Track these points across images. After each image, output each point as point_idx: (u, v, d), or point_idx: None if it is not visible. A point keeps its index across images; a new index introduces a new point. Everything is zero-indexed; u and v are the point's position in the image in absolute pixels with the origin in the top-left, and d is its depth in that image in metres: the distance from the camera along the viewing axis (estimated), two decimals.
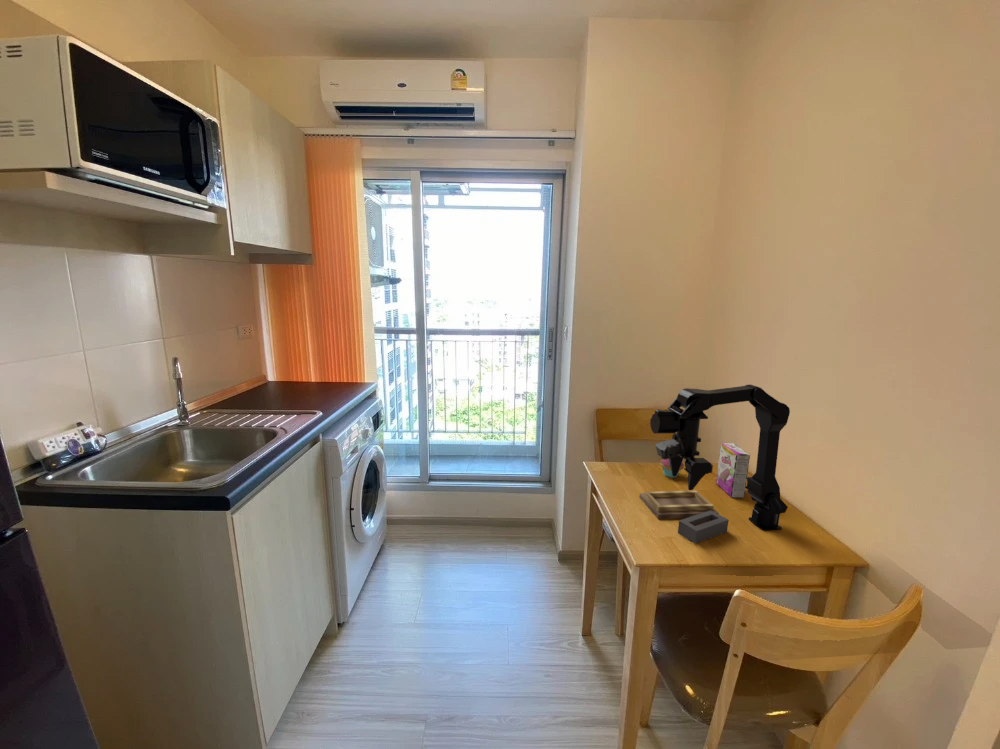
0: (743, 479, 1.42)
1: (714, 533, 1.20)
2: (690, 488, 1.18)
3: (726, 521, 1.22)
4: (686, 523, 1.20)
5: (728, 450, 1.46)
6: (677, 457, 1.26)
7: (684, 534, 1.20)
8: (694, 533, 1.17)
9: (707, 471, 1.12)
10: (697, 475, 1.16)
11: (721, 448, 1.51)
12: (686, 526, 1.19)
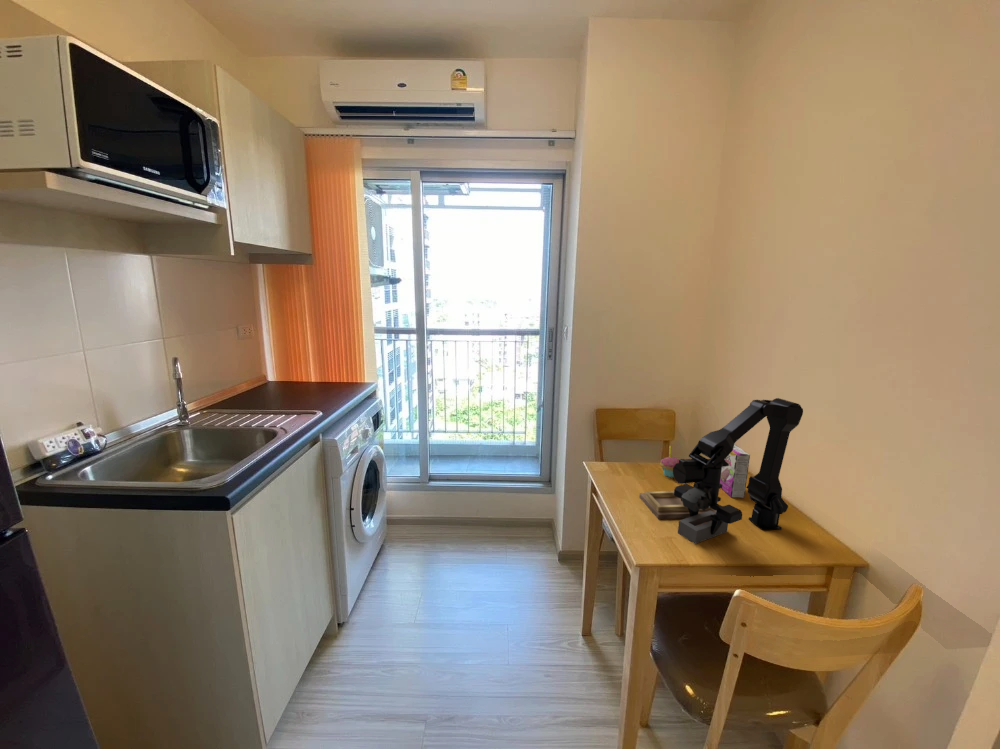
0: (743, 479, 1.42)
1: None
2: (713, 532, 1.20)
3: None
4: (686, 523, 1.20)
5: None
6: None
7: (684, 534, 1.20)
8: (694, 533, 1.17)
9: (739, 519, 1.13)
10: None
11: None
12: (686, 526, 1.19)
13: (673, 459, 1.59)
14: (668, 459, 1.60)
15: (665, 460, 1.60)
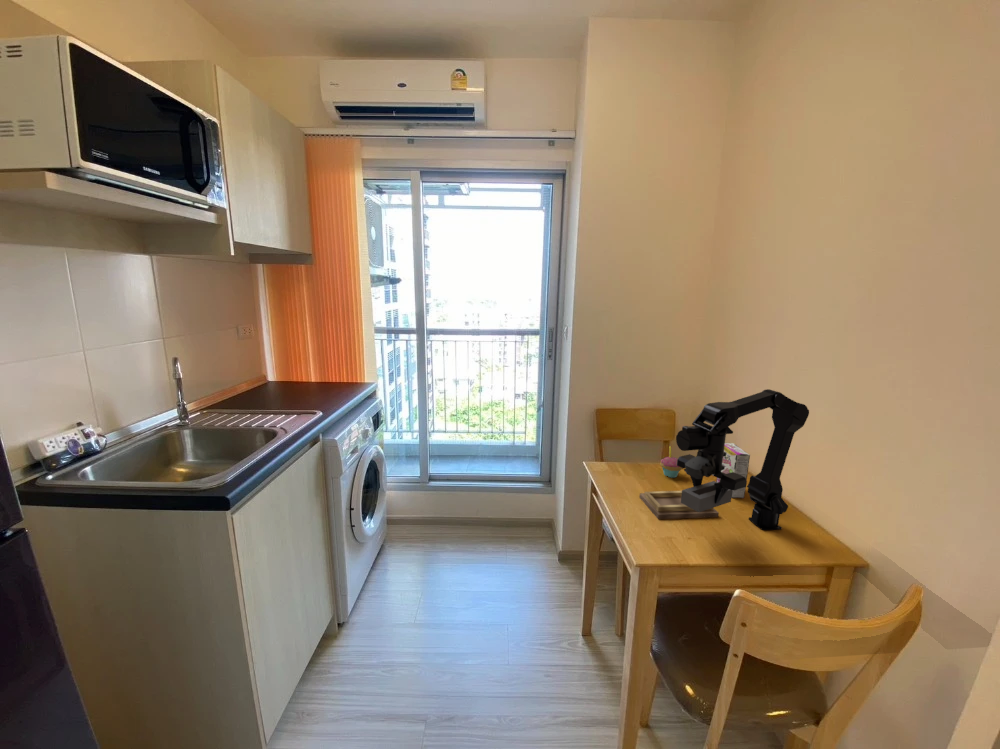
0: None
1: None
2: (717, 501, 1.18)
3: (730, 491, 1.20)
4: (689, 492, 1.18)
5: (728, 450, 1.46)
6: None
7: (687, 503, 1.18)
8: (698, 501, 1.15)
9: (743, 486, 1.12)
10: None
11: None
12: (689, 495, 1.17)
13: (673, 459, 1.59)
14: (668, 459, 1.60)
15: (665, 460, 1.60)
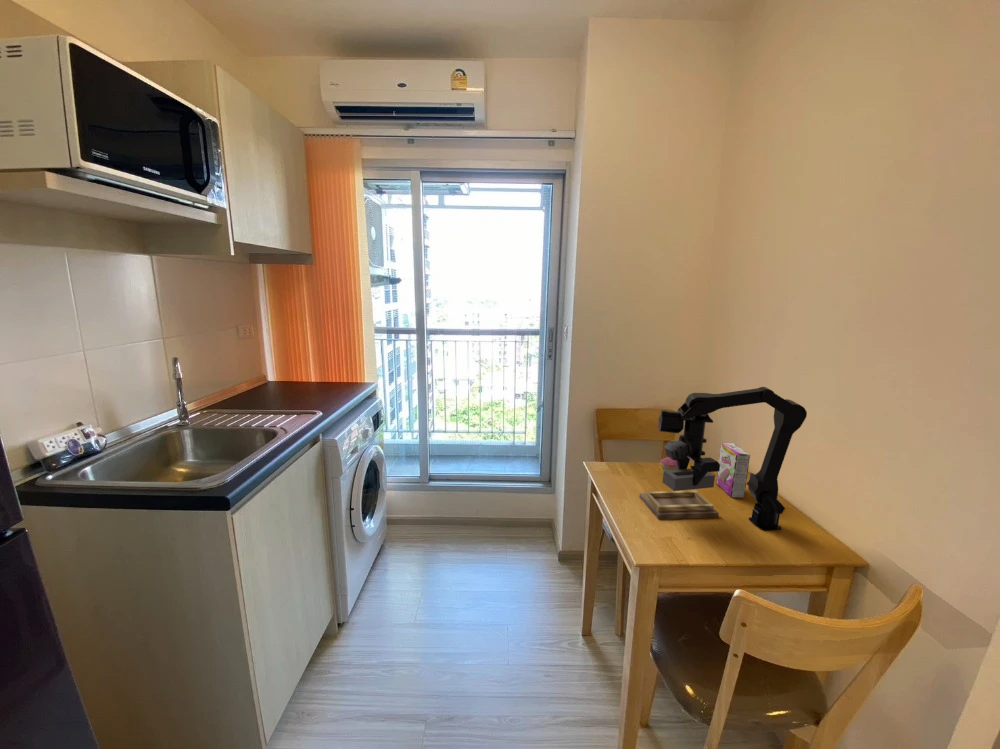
0: (743, 479, 1.42)
1: (697, 485, 1.28)
2: (695, 484, 1.27)
3: (712, 477, 1.28)
4: (669, 473, 1.29)
5: (728, 450, 1.46)
6: (684, 459, 1.33)
7: (667, 483, 1.30)
8: (673, 480, 1.26)
9: (715, 470, 1.20)
10: (701, 472, 1.25)
11: (721, 448, 1.51)
12: (668, 475, 1.29)
13: None
14: (668, 459, 1.60)
15: (665, 460, 1.60)
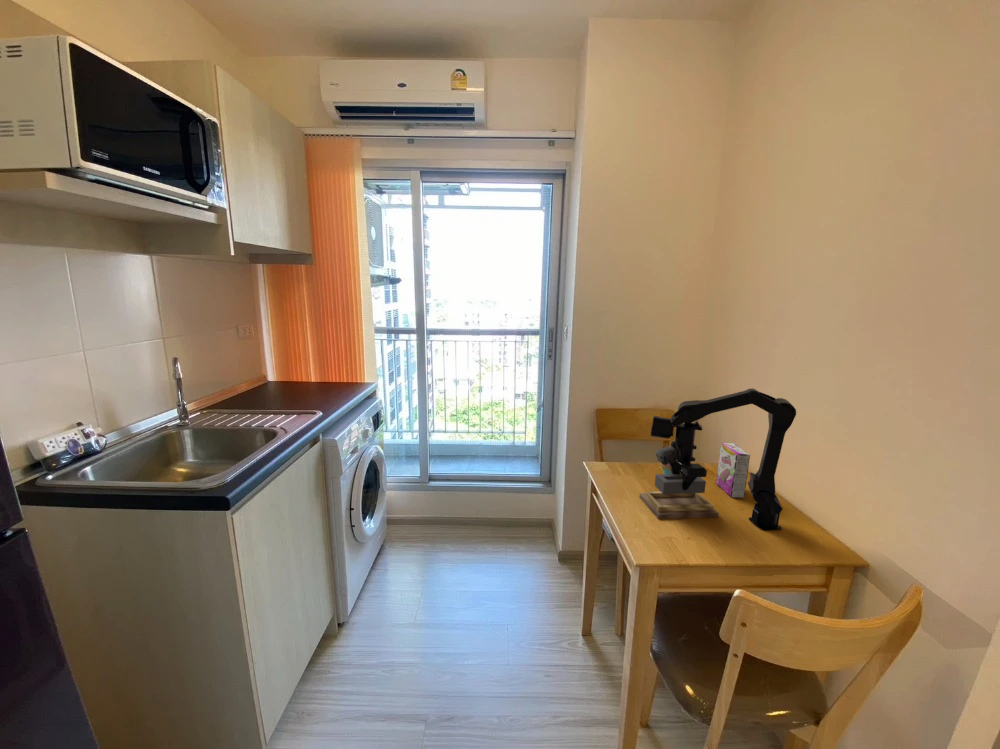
0: (743, 479, 1.42)
1: (687, 490, 1.33)
2: (685, 488, 1.33)
3: (702, 482, 1.33)
4: (660, 476, 1.36)
5: (728, 450, 1.46)
6: (677, 464, 1.38)
7: (658, 486, 1.36)
8: (663, 484, 1.32)
9: (702, 475, 1.25)
10: (690, 477, 1.31)
11: (721, 448, 1.51)
12: (659, 479, 1.35)
13: None
14: None
15: None
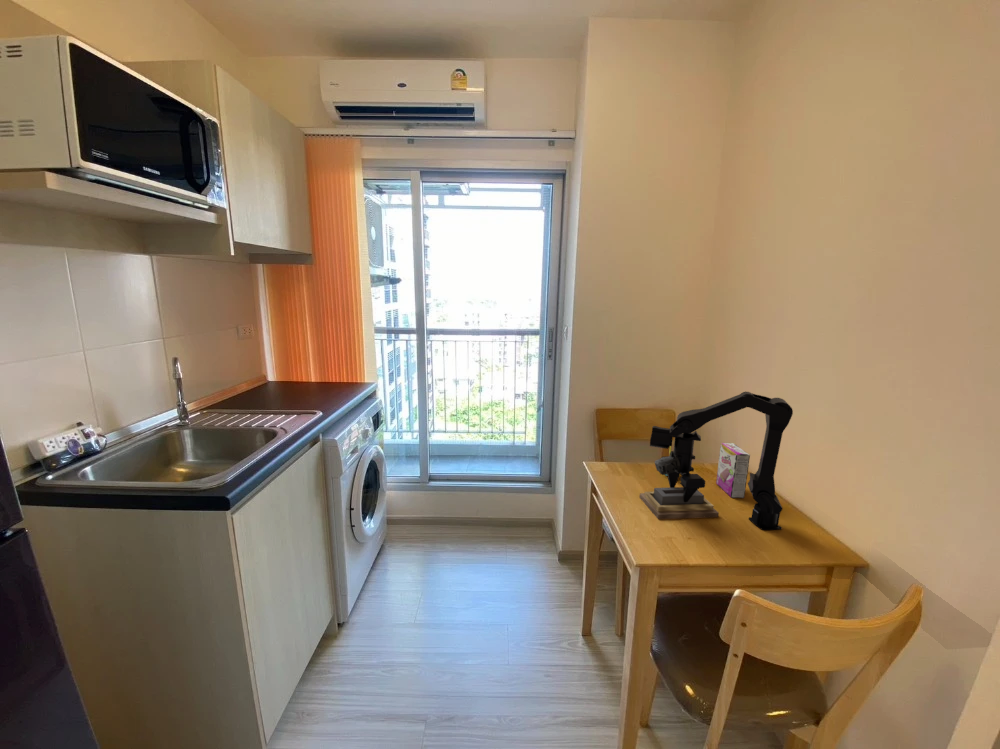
0: (743, 479, 1.42)
1: (685, 504, 1.34)
2: (686, 500, 1.32)
3: (700, 496, 1.34)
4: (659, 490, 1.37)
5: (728, 450, 1.46)
6: (674, 472, 1.40)
7: (656, 499, 1.37)
8: (661, 498, 1.33)
9: (700, 486, 1.26)
10: (691, 489, 1.30)
11: (721, 448, 1.51)
12: (657, 492, 1.36)
13: None
14: None
15: None
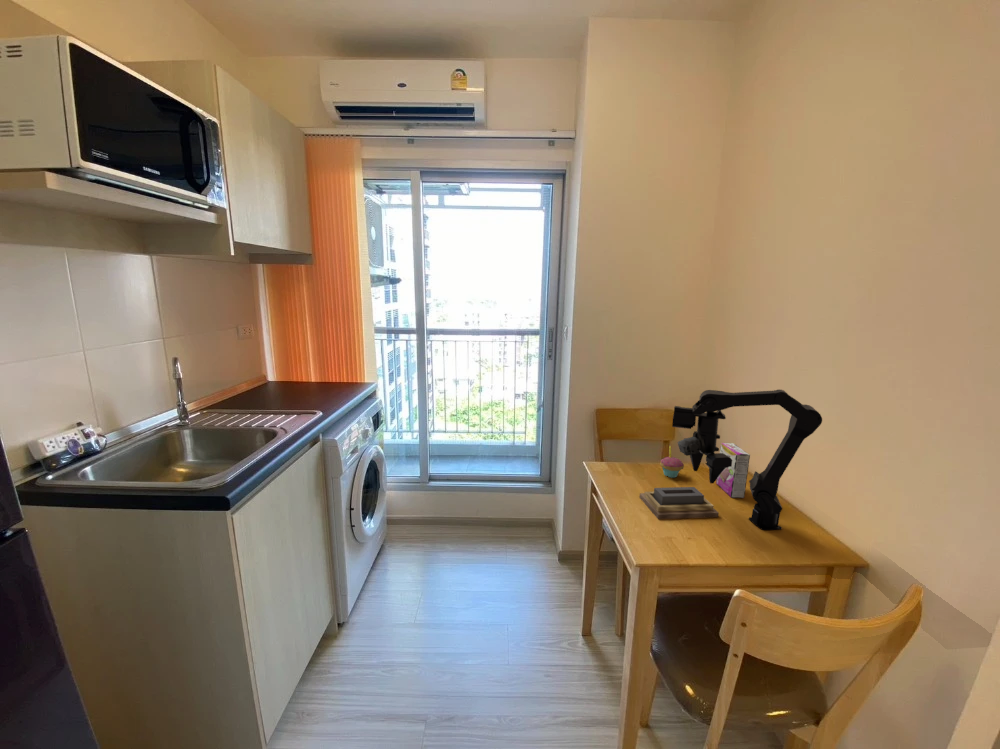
0: (743, 479, 1.42)
1: (685, 504, 1.34)
2: (712, 481, 1.28)
3: (700, 496, 1.34)
4: (659, 490, 1.37)
5: (728, 450, 1.46)
6: (697, 453, 1.37)
7: (656, 499, 1.37)
8: (661, 498, 1.33)
9: (727, 465, 1.22)
10: (718, 469, 1.26)
11: (721, 448, 1.51)
12: (657, 492, 1.36)
13: (673, 459, 1.59)
14: (668, 459, 1.60)
15: (665, 460, 1.60)
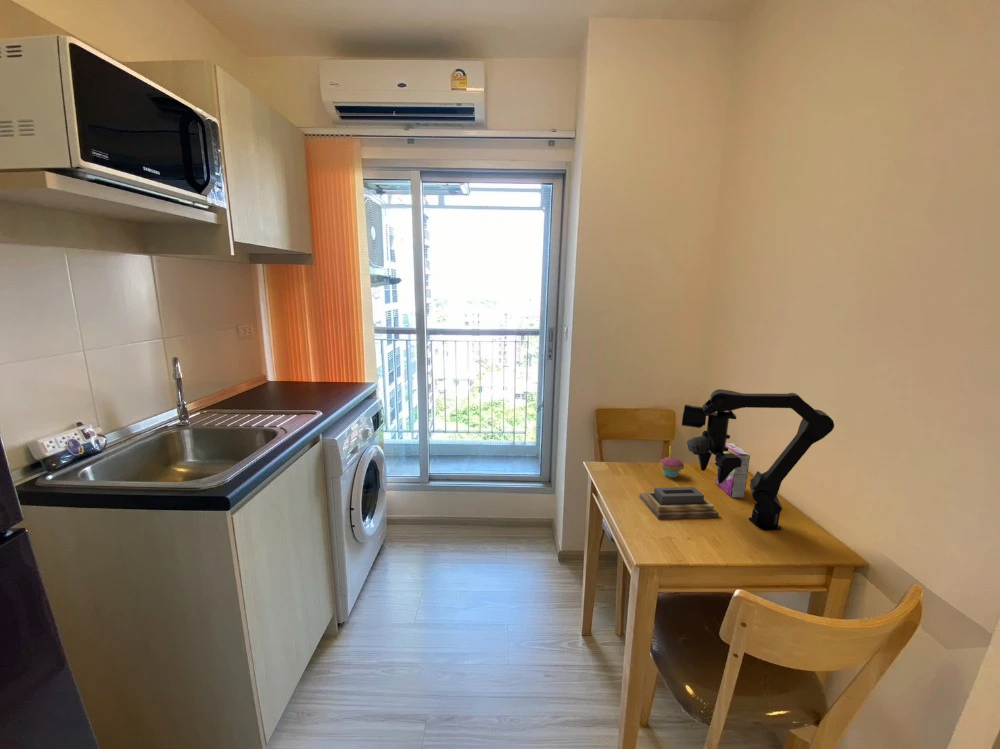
0: (743, 479, 1.42)
1: (685, 504, 1.34)
2: (720, 481, 1.27)
3: (700, 496, 1.34)
4: (659, 490, 1.37)
5: (728, 450, 1.46)
6: (706, 453, 1.36)
7: (656, 499, 1.37)
8: (661, 498, 1.33)
9: (737, 465, 1.21)
10: (727, 469, 1.25)
11: None
12: (657, 492, 1.36)
13: (673, 459, 1.59)
14: (668, 459, 1.60)
15: (665, 460, 1.60)
